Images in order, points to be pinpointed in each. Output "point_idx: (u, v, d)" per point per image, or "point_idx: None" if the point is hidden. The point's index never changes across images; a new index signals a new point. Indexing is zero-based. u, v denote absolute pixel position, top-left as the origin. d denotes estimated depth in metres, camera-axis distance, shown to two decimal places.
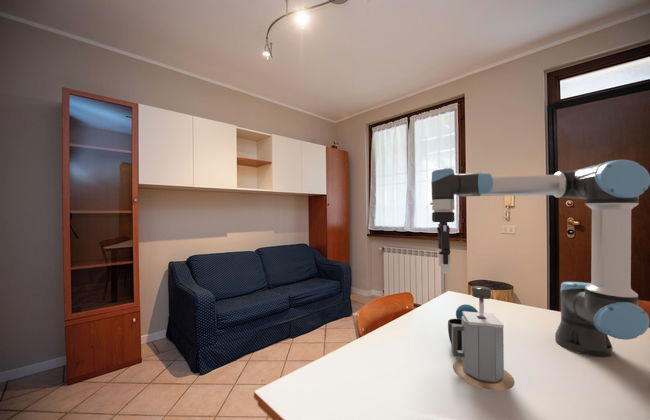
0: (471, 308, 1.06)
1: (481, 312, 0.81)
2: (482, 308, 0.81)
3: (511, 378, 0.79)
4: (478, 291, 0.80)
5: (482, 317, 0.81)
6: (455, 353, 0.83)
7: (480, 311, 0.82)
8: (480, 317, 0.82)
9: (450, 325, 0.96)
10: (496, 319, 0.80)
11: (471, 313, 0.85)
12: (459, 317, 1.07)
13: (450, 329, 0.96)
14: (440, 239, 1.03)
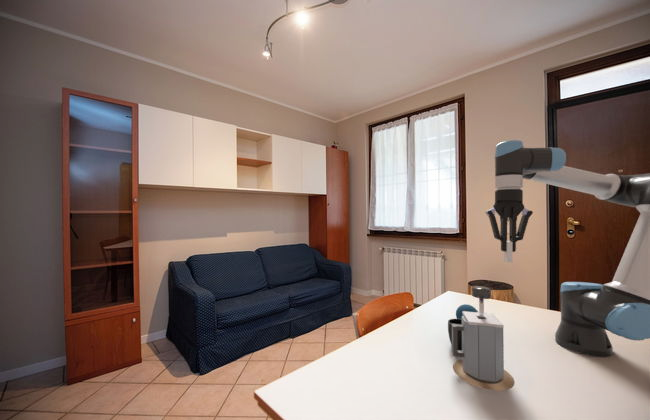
0: (471, 308, 1.06)
1: (481, 312, 0.81)
2: (482, 308, 0.81)
3: (511, 378, 0.79)
4: (478, 291, 0.80)
5: (482, 317, 0.81)
6: (455, 353, 0.83)
7: (480, 311, 0.82)
8: (480, 317, 0.82)
9: (450, 325, 0.96)
10: (496, 319, 0.80)
11: (471, 313, 0.85)
12: (459, 317, 1.07)
13: (450, 329, 0.96)
14: (509, 224, 0.89)
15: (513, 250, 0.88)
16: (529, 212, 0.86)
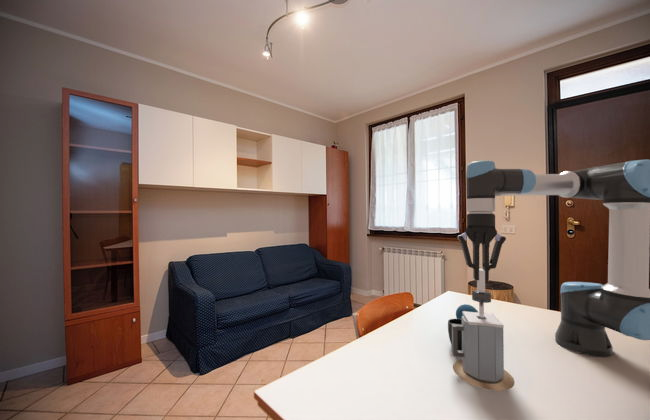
0: (471, 308, 1.06)
1: (481, 316, 0.81)
2: (482, 312, 0.81)
3: (511, 378, 0.79)
4: (478, 295, 0.80)
5: None
6: (455, 353, 0.83)
7: (480, 315, 0.82)
8: None
9: (450, 325, 0.96)
10: (496, 319, 0.80)
11: (471, 313, 0.85)
12: (459, 317, 1.07)
13: (450, 329, 0.96)
14: (482, 250, 0.83)
15: (486, 279, 0.81)
16: (502, 238, 0.79)
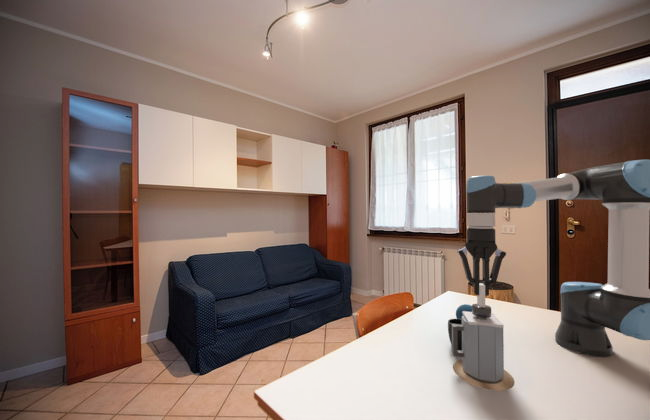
0: (471, 308, 1.06)
1: None
2: None
3: (511, 378, 0.79)
4: (478, 310, 0.80)
5: None
6: (455, 353, 0.83)
7: None
8: None
9: (450, 325, 0.96)
10: (496, 319, 0.80)
11: (471, 313, 0.85)
12: (459, 317, 1.07)
13: (450, 329, 0.96)
14: (482, 265, 0.82)
15: (486, 294, 0.81)
16: (502, 253, 0.79)
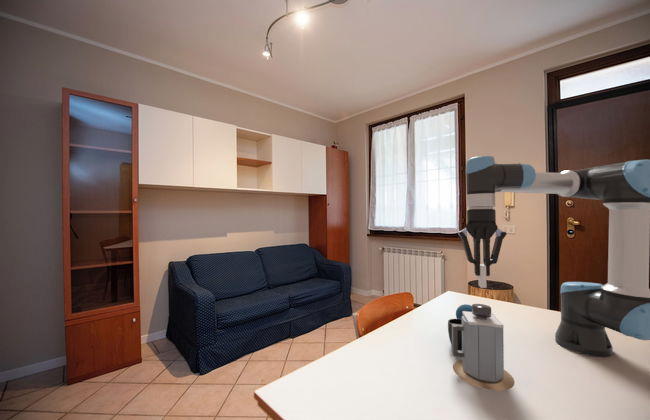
0: (471, 308, 1.06)
1: None
2: None
3: (511, 378, 0.79)
4: (478, 310, 0.80)
5: None
6: (455, 353, 0.83)
7: None
8: None
9: (450, 325, 0.96)
10: (496, 319, 0.80)
11: (471, 313, 0.85)
12: (459, 317, 1.07)
13: (450, 329, 0.96)
14: (483, 246, 0.83)
15: (487, 274, 0.81)
16: (503, 233, 0.79)
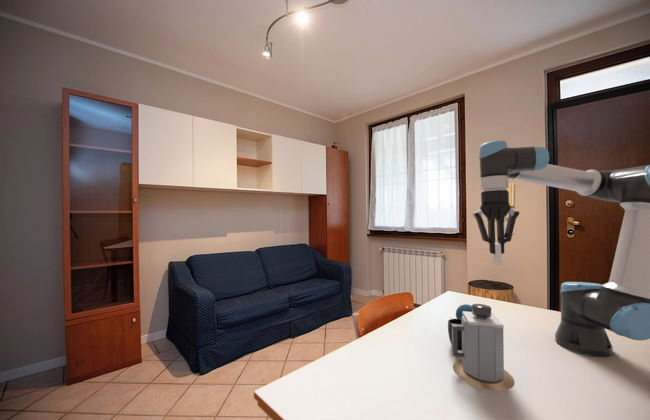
0: (471, 308, 1.06)
1: None
2: None
3: (511, 378, 0.79)
4: (478, 310, 0.80)
5: None
6: (455, 353, 0.83)
7: None
8: None
9: (450, 325, 0.96)
10: (496, 319, 0.80)
11: (471, 313, 0.85)
12: (459, 317, 1.07)
13: (450, 329, 0.96)
14: (497, 225, 0.88)
15: (502, 252, 0.86)
16: (516, 213, 0.85)
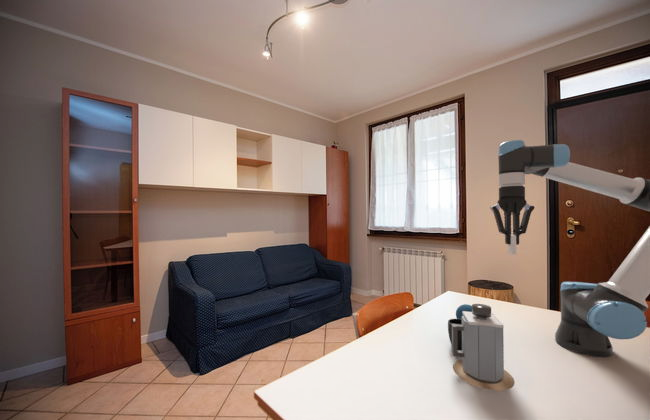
0: (471, 308, 1.06)
1: None
2: None
3: (511, 378, 0.79)
4: (478, 310, 0.80)
5: None
6: (455, 353, 0.83)
7: None
8: None
9: (450, 325, 0.96)
10: (496, 319, 0.80)
11: (471, 313, 0.85)
12: (459, 317, 1.07)
13: (450, 329, 0.96)
14: (513, 219, 0.95)
15: (517, 243, 0.94)
16: (531, 207, 0.92)
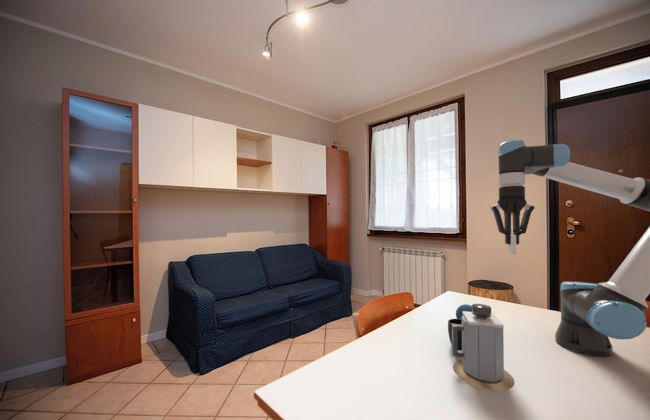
0: (471, 308, 1.06)
1: None
2: None
3: (511, 378, 0.79)
4: (478, 310, 0.80)
5: None
6: (455, 353, 0.83)
7: None
8: None
9: (450, 325, 0.96)
10: (496, 319, 0.80)
11: (471, 313, 0.85)
12: (459, 317, 1.07)
13: (450, 329, 0.96)
14: (513, 219, 0.95)
15: (517, 243, 0.94)
16: (531, 207, 0.92)
